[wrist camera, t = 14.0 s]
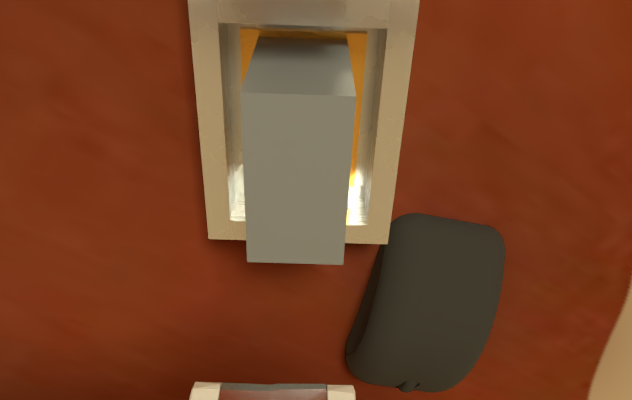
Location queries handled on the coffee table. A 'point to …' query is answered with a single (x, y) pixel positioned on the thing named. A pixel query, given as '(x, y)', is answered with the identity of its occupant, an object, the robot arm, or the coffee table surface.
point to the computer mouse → (427, 304)
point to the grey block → (297, 149)
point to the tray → (370, 85)
